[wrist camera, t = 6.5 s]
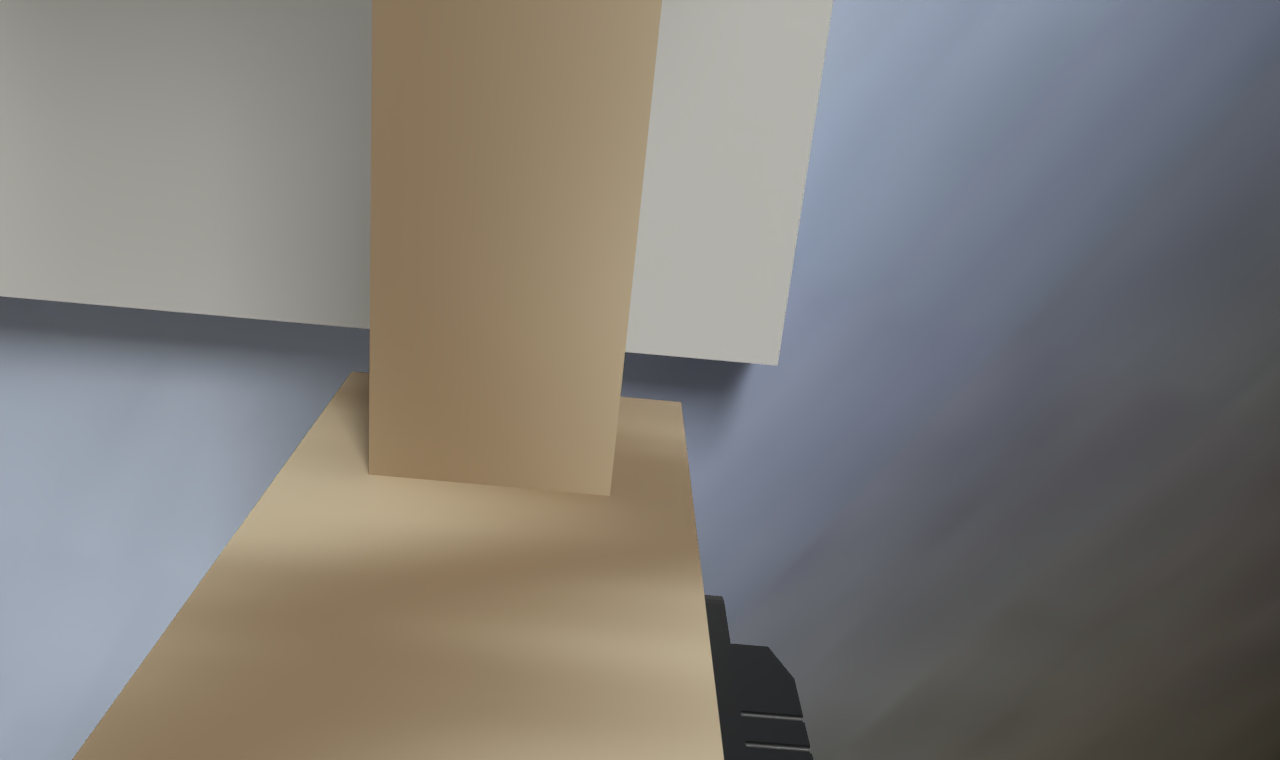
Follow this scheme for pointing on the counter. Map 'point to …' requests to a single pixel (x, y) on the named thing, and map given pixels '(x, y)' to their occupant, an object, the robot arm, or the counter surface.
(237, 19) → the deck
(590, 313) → the crook
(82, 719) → the counter surface
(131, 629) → the counter surface
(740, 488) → the counter surface
